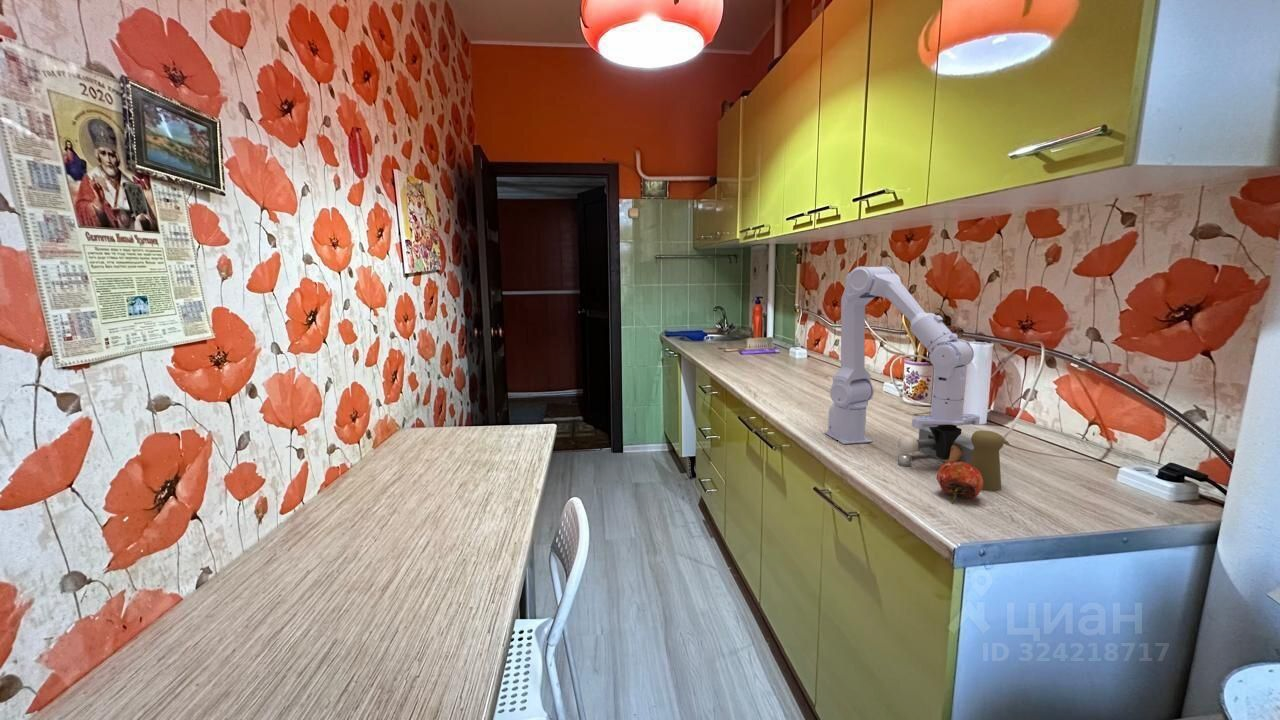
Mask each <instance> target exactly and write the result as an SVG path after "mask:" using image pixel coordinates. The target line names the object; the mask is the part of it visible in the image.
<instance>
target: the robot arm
mask: <svg viewBox="0 0 1280 720" xmlns="http://www.w3.org/2000/svg"><path fill="white" fill-rule="evenodd" d="M901 281H902V280H901V278H900V275H898V274H897V273H895V271H894V270H893V269H892V268H891V267H889V266H887V265H881V266H863V265H861V266H856V267H854V269H852V270H851V271H850V272H849V273H848V274H847V275H846V276H845V287H844V291H843V293H842V296H841V300H840V369H839V370H837V372H836V373H835V374H834V375H833V378H832V379H833V380H832V381H833V382H832V385H831V387H830V390H829V396H830V399H831V400H832V402H833V403H831V405H830V407H829V409H828V419H827V420H828V422H827V424H828V425H827V430H826V431H824V434H826V435H827V436H830V437H831V438H832V439H834V440H836V441H837V440H838V442H839V443H841V444H843V445H850V444H851V445H852V444H863V443H872V442H873V440H872V438H869V437H867V436H866V421H867V406H868V405H869V401H871V400H872V398H873V397H874V393H875V390H874V386H873V383H872V381H871V380H872V379H871V376H872V375H871V373H870V372H869V371H868V370H867V369H866V367H865V363H866V362H865V361H866V360H865V357H866V356H865V354H866V353H865V351H866V349H865V345H866V343H865V342H866V337H865V334H866V333H865V332H866V306H867V305H868V304H869V303H870V302H871V301H872V300H874V298H876V297H880V298H885V299H887V300H888V302H890V303H891V304H892V305H893V306H894V307H895V308H896V309H897V310H898V311H899V312H900V313H901V314H902V315H903V316H904V317H905V318H906V319H907V320H908V321H909V322H910V327H909V330H910V331H911V333H912V334H913V335H914V336H915V337H916V339H917V340H918V341H919V342H920V343H921V344H922V346H924V348H926V350H927V351H928V352H929V354H928V355H929V356H928V357H929V361H930V363H931V364H932V366H933V386H932V388H933V389H932V396H931V397H932V398H931V407H930V408H931V409H930V413H929V414H926V415H923V416H918V417H917V416H916V417H912V419H911V427H912V428H914V429H918V430H919V429H922V428H925V427H929V428H930V430H931V432H932V434H933V436H934V438H935V441H936V457H938V458H941V459H943V460H947V459H949V456H950V451H951V446H952V445H953V443H954V441H955V440H956V439H957V437H958V436H959V435H960V434H962V428H960V426H967V425H968V426H969V425H973V426H979V425H980V419H981V416H980V415H977V414H974V413H963V412H964V405H965V404H964V403H965V392H966V383H967V372H968V371H967V370H968V365H969V364H970V363H971V362H972V361H973V359H974V356H975V352H974V348H973V346H972V345H971V343H970V342H969V341H967V340H965V339H962V338H961V339H960V338H959V336H958V335H957V334H956V333H953V332H952V331H951V330H950V329H949V328H948V327H947V325H946V324H945V323H944V322H943V320H944V319H943V317H942V316H941V315H937V314H935V313H934V312H925V310H924V309H923V308H922V306H920V305H919V303H918V302H917V300H916V299H915V298H914V297H913V296H912V294H911V293H910V291H908V289H907V288H906V287H905V285H904V284H903V283H902V282H901ZM958 426H959V427H958Z"/></svg>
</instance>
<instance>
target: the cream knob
mask: <svg viewBox="0 0 1280 720" xmlns="http://www.w3.org/2000/svg"><path fill="white" fill-rule="evenodd" d="M897 446H898V450H899V451H900V452H901V454H908V453H910V454H911V453H912V454H913V453H916V452H917V451H919V450H918V448H930V447H936V441H935V438H932V439H919V438H918V439H917V438H916V437H914V436H912V435H911V436H901V437H899V438H898V440H897Z"/></svg>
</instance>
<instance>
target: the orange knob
mask: <svg viewBox="0 0 1280 720" xmlns="http://www.w3.org/2000/svg"><path fill="white" fill-rule="evenodd" d="M962 456H963V455H962V449H961V448H959V447H958V446H957V445H952V446H951V451H950V456H949V459H947V460H943V459H942V460H943V461H944V462H943V461H942V462H943V463H945V462H946V463H948V462H959V461H961V459H962Z"/></svg>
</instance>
